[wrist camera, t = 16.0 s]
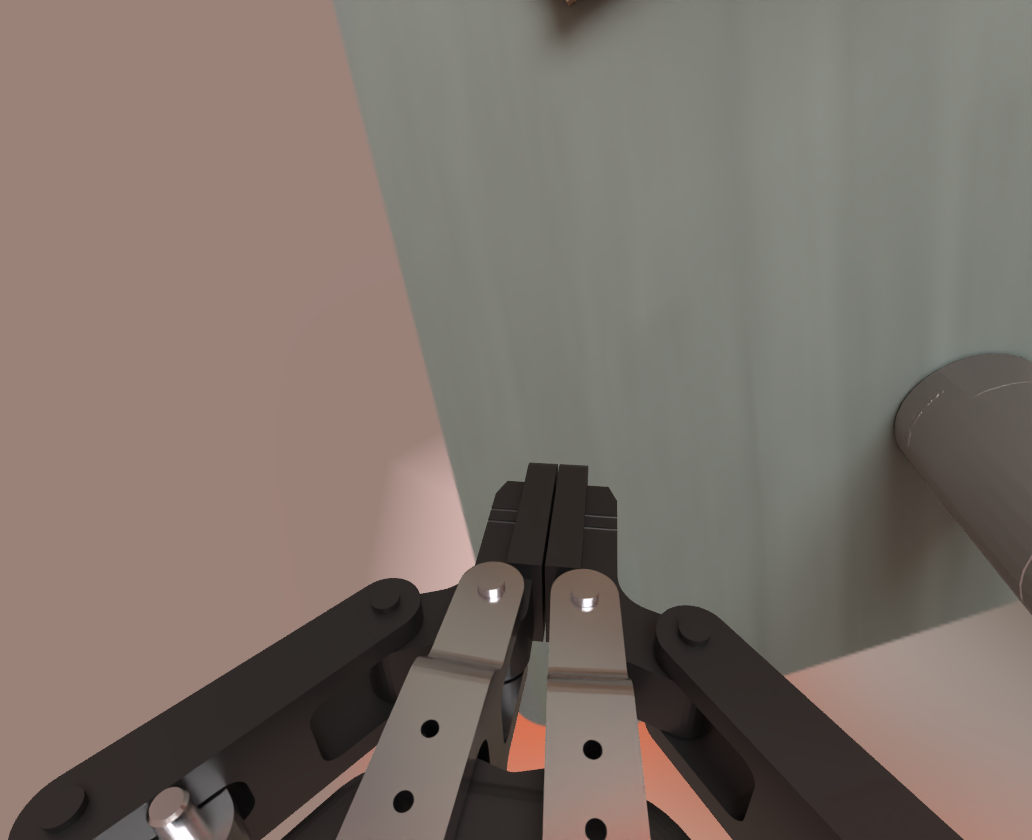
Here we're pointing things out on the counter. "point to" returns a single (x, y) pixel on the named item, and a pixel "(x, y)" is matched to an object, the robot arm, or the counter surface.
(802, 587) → the counter surface
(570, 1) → the lane
